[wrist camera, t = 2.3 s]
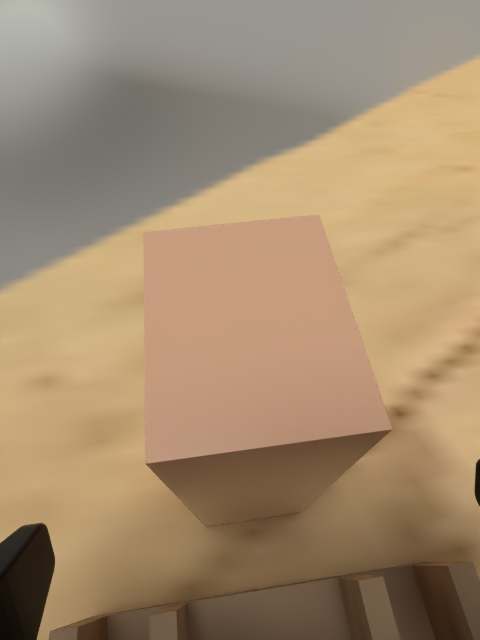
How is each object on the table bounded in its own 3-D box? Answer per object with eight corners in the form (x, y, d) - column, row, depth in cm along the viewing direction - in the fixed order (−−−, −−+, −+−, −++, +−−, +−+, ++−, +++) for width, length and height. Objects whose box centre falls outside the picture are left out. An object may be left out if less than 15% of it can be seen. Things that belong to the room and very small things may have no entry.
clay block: (300, 512, 17) (392, 429, 6) (205, 526, 16) (145, 463, 6) (278, 400, 19) (319, 214, 9) (196, 410, 19) (143, 232, 9)
